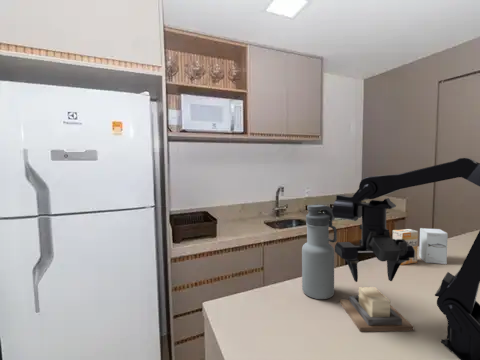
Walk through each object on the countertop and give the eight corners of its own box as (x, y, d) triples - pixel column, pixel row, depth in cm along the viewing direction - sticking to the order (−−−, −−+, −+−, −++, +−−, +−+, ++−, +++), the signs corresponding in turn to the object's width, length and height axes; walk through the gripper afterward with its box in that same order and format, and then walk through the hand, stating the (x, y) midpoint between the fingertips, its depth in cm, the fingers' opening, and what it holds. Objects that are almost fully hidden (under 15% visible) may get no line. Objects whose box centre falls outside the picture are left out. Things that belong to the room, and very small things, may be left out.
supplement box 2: (425, 263, 104) (426, 232, 103) (418, 256, 111) (419, 227, 111) (447, 264, 102) (448, 233, 101) (439, 258, 109) (439, 228, 108)
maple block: (358, 304, 74) (358, 287, 73) (374, 304, 74) (374, 286, 73) (372, 320, 66) (372, 301, 66) (389, 319, 66) (390, 301, 66)
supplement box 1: (401, 265, 102) (402, 232, 102) (391, 261, 107) (392, 229, 106) (418, 263, 105) (418, 230, 104) (407, 258, 109) (408, 228, 108)
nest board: (413, 330, 64) (413, 320, 63) (360, 331, 64) (360, 321, 64) (384, 302, 77) (384, 293, 76) (339, 302, 77) (339, 294, 76)
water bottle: (321, 282, 90) (320, 202, 88) (342, 295, 81) (342, 206, 79) (296, 288, 86) (295, 204, 84) (315, 303, 77) (315, 209, 75)
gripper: (351, 232, 61) (350, 297, 62) (431, 230, 60) (429, 295, 62) (334, 221, 72) (334, 276, 73) (402, 220, 72) (400, 275, 73)
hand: (373, 280), depth 70 cm, fingers open, 9 cm apart
